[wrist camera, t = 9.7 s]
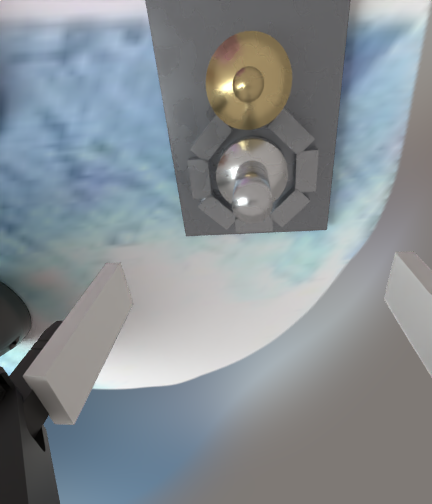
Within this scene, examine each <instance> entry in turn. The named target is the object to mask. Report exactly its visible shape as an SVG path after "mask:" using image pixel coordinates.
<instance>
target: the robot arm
mask: <svg viewBox="0 0 432 504" xmlns="http://www.w3.org/2000/svg"><path fill="white" fill-rule="evenodd" d="M384 300H385V302H386V303H387V305H388V307H389V308H390V310H391V312H392V313H393V315H394V317H395V318H396V320H397V322H398V323H399V325H400V327H401V328H402V330H403V331H404V333H405V335H406V336H407V338H408V339H409V341H410V343H411V345H412V346H413V348H414V350H415V351H416V353H417V354H418V356H419V358H420V359H421V361H422V363H423V364H424V366H425V367H426V369H427V371H428V372H429V374H430V376H431V377H432V271H431V269H430V268H429V267H428V266H427V265H426V264H425V263H424V262H423V261H422V260H421V259H420V258H419V257H418V256H417V255H416V253H414V251H409V252H395V255H394V259H393V264H392V268H391V272H390V276H389V280H388V284H387V288H386V292H385V296H384ZM132 306H133V301H132V298H131V295H130V292H129V288H128V285H127V282H126V279H125V276H124V273H123V269H122V266H121V263H106V264H105V265H104V267H103V268H102V269H101V271H100V272H99V273H98V275H97V276H96V277H95V279H94V280H93V281H92V283H91V284H90V286H89V287H88V288H87V290H86V291H85V292H84V294H83V295H82V296H81V298H80V299H79V300H78V302H77V303H76V304H75V306H74V307H73V309H72V310H71V311H70V313H69V314H68V315H67V317H66V318H65V319H64V321H56V322H55V323H54V324H52V325H51V326H50V327H49V328H47V329H46V330H45V331H44V333H43V334H42V335H41V336H40V338H39V339H38V342H36V343H35V344H34V345H33V347H32V348H31V350H29V352H28V353H27V354H26V356H25V357H24V358H23V359H22V361H21V362H20V363H19V364H18V366H17V367H16V368H15V370H14V371H13V372H12V373H11V375H10V376H8V374H7V373H6V372H5V370H4V369H3V367H0V504H60V501H59V495H58V490H57V485H56V480H55V475H54V469H53V464H52V458H51V453H50V448H49V443H48V437H47V432H46V429H45V427H44V425H43V424H44V422H45V420H46V419H47V417H48V415H49V416H50V418H51V419H52V421H53V422H54V424H68V425H74V424H75V422H76V420H77V418H78V416H79V414H80V412H81V410H82V408H83V406H84V404H85V402H86V400H87V397H88V395H89V394H90V391H91V389H92V387H93V385H94V383H95V381H96V379H97V377H98V375H99V373H100V371H101V369H102V367H103V365H104V363H105V361H106V359H107V357H108V355H109V353H110V351H111V349H112V347H113V345H114V343H115V340H116V338H117V336H118V334H119V332H120V330H121V328H122V326H123V324H124V322H125V320H126V318H127V316H128V314H129V312H130V310H131V308H132ZM30 328H31V318H30V314H29V312H28V310H27V308H26V306H25V305H24V303H23V302H22V301H21V299H20V298H19V297H18V296H17V295H16V294H15V293H14V292H13V291H12V290H10V289H9V288H8V287H7V286H5V285H4V284H2V283H1V282H0V356H2V355H3V354H5V353H6V352H8V351H9V350H11V349H13V348H14V347H16V346H17V345H18V344H19V343H20V342H21V341H22V340H23V338H24V337H25V336H26V335H27V334H28V332H29V331H30Z"/></svg>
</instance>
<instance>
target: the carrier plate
mask: <svg viewBox="0 0 432 504" xmlns="http://www.w3.org/2000/svg"><path fill="white" fill-rule="evenodd" d="M145 1H146V7H147V12H148V18H149V24H150V30H151V36H152V41H153V47H154V53H155V59H156V65H157V70H158V76H159V82H160V88H161V94H162V99H163V105H164V111H165V117H166V123H167V128H168V134H169V140H170V146H171V152H172V158H173V163H174V169H175V175H176V181H177V187H178V192H179V198H180V204H181V210H182V216H183V221H184V227H185V233H186V236H200V235H222V234H245V233H268V232H290V231H313V230H327V223H328V213H329V203H330V194H331V184H332V174H333V164H334V154H335V144H336V134H337V125H338V115H339V105H340V95H341V85H342V75H343V66H344V56H345V46H346V36H347V26H348V16H349V7H350V0H145ZM244 31H259V32H263V33H265V34H268V35H270V36H271V37H273V38H274V39H275V40H277V41H278V42H279V43H280V45H281V46H282V47H283V48H284V50H285V52H286V53H287V56H288V58H289V61H290V64H291V69H292V87H291V92H290V95H289V98H288V100H287V102H286V105H285V106H284V108H283V110H282V111H281V112H280V113H279V115H278V116H277V117H276V118H275V119H273V120H272V121H271V122H270V123H268V124H266V125H265V126H262V127H260V128H257V129H252V130H241V129H237V128H234V127H231V126H229V125H227V124H226V123H224V122H223V121H222V120H221V119H220V118H219V117H218V116H217V115H216V114H215V112H214V111H213V109H212V107H211V105H210V103H209V100H208V97H207V92H206V74H207V69H208V65H209V63H210V60H211V58H212V56H213V54H214V53H215V51H216V50H217V48H218V47H219V46H220V45H221V44H222V43H223V42H224V41H225V40H226V39H228V38H229V37H231V36H233V35H235V34H237V33H240V32H244ZM249 136H256V137H262V138H265V139H268V140H270V141H271V142H273V143H274V144H275V145H276V146H277V147H278V148H279V149H280V150H281V152H282V154H283V155H284V158H285V161H286V163H287V168H288V180H287V184H286V187H285V189H284V191H283V192H282V194H281V195H280V197H279V198H278V199H277V200H276V201H274V202H273V207H272V211H271V213H270V214H269V216H268V217H267V218H266V219H265V220H263V221H261V222H258V223H253V224H250V223H245V222H243V221H241V220H239V219H238V218H237V217H236V216H235V215H234V213H233V210H232V204H231V203H229V202H228V201H227V200H226V199H225V198H224V197H223V196H222V194H221V193H220V191H219V188H218V185H217V181H216V171H217V166H218V163H219V160H220V158H221V156H222V154H223V152H224V151H225V149H226V148H227V147H228V146H229V145H231V144H232V143H233V142H235V141H236V140H239V139H241V138H244V137H249Z"/></svg>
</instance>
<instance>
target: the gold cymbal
mask: <svg viewBox="0 0 432 504" xmlns="http://www.w3.org/2000/svg"><path fill="white" fill-rule="evenodd" d="M291 87H292V69H291V64H290V61H289V58H288V56H287V53H286V52H285V50H284V48H283V47H282V46H281V45H280V43H279V42H278V41H277V40H275V39H274V38H273V37H271V36H270V35H268V34H265V33H263V32H259V31H244V32H240V33H237V34H235V35H233V36H231V37H229V38H228V39H226V40H225V41H224V42H223V43H222V44H221V45H220V46H219V47H218V48H217V50H216V51H215V53H214V54H213V56H212V58H211V60H210V63H209V65H208V69H207V74H206V92H207V97H208V100H209V103H210V105H211V107H212V109H213V111H214V112H215V114H216V115H217V116H218V117H219V118H220V119H221V120H222V121H223V122H224V123H226V124H227V125H229V126H231V127H234V128H237V129H241V130H252V129H257V128H260V127H262V126H265V125H266V124H268V123H270V122H271V121H272V120H273V119H275V118H276V117H277V116H278V115H279V113H280V112H281V111H282V110H283V108H284V106H285V105H286V102H287V100H288V98H289V95H290V92H291Z"/></svg>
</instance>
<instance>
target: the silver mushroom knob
mask: <svg viewBox="0 0 432 504" xmlns="http://www.w3.org/2000/svg"><path fill="white" fill-rule="evenodd" d="M287 180H288V168H287V163H286V161H285V158H284V155H283V154H282V152H281V150H280V149H279V148H278V147H277V146H276V145H275V144H274V143H273V142H271V141H270V140H268V139H265V138H262V137H256V136H249V137H244V138H241V139H239V140H236V141H235V142H233V143H232V144H231V145H229V146H228V147H227V148H226V149H225V151H224V152H223V154H222V156H221V158H220V160H219V163H218V166H217V171H216V181H217V185H218V188H219V191H220V193H221V194H222V196H223V197H224V198H225V199H226V200H227V201H228V202H229V203H231V204H232V210H233V213H234V215H235V216H236V217H237V218H238V219H239V220H241V221H243V222H245V223H250V224H253V223H258V222H261V221H263V220H265V219H266V218H267V217H268V216H269V214H270V213H271V211H272V207H273V202H274V201H276V200H277V199H278V198H279V197H280V195H281V194H282V192H283V191H284V189H285V187H286V184H287Z"/></svg>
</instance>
